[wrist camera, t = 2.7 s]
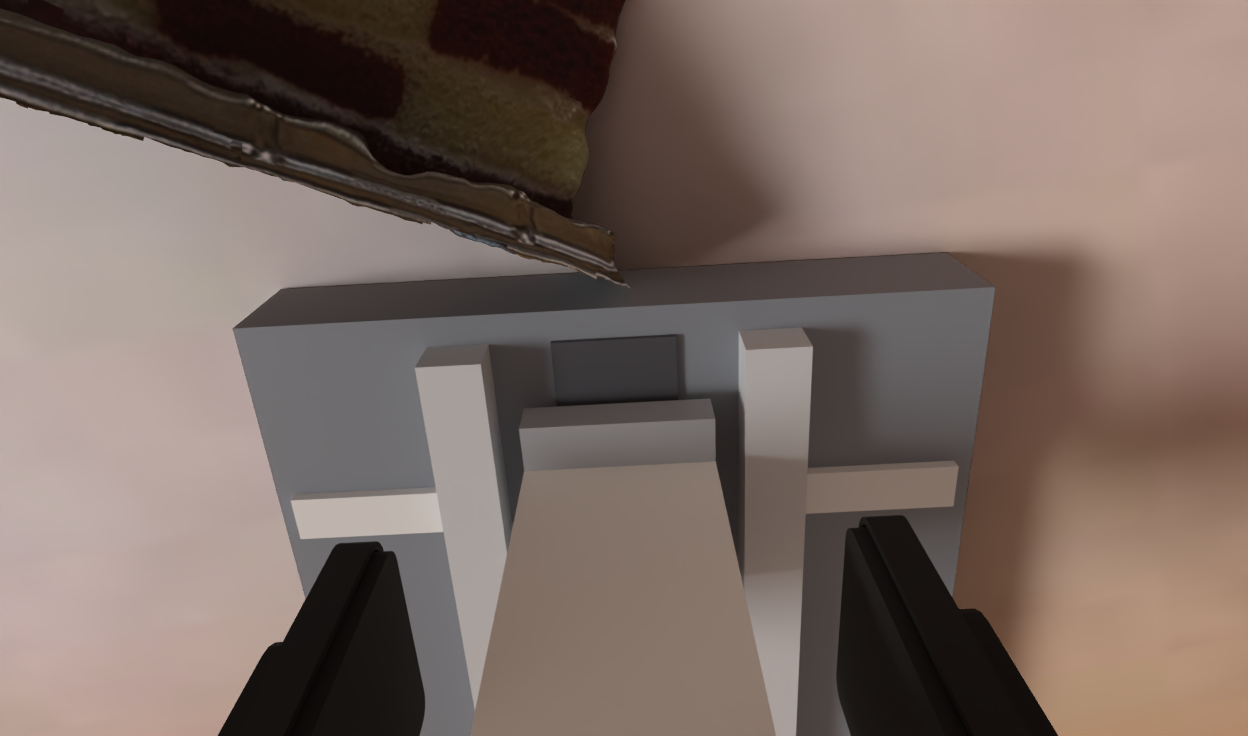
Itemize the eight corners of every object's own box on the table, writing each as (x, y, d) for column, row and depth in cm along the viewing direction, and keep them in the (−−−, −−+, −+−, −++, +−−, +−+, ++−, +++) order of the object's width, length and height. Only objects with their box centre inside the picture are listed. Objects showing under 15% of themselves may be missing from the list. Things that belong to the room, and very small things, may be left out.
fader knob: (523, 408, 13) (436, 776, 7) (710, 398, 13) (798, 759, 7) (546, 606, 14) (494, 1050, 8) (713, 597, 14) (785, 1038, 8)
